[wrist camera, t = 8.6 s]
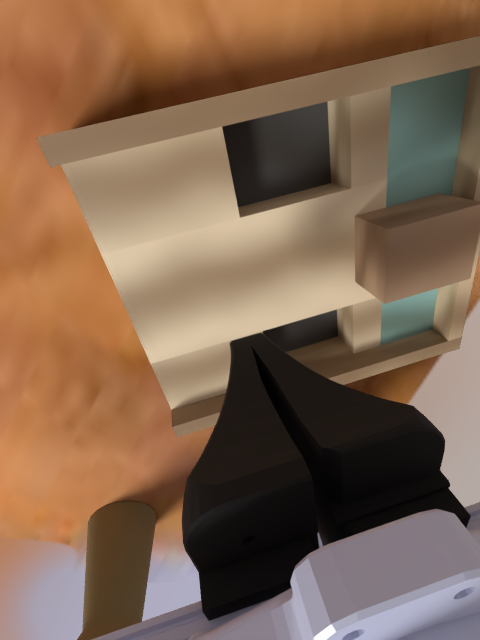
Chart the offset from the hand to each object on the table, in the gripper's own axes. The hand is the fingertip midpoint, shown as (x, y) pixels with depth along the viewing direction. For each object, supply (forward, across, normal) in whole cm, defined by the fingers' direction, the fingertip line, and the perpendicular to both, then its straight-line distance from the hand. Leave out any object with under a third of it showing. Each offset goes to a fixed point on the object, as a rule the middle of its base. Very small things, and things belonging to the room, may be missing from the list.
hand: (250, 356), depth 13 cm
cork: (+9, +14, +21) cm, 27 cm away
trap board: (+8, -5, 0) cm, 10 cm away
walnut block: (+6, -10, -1) cm, 12 cm away
